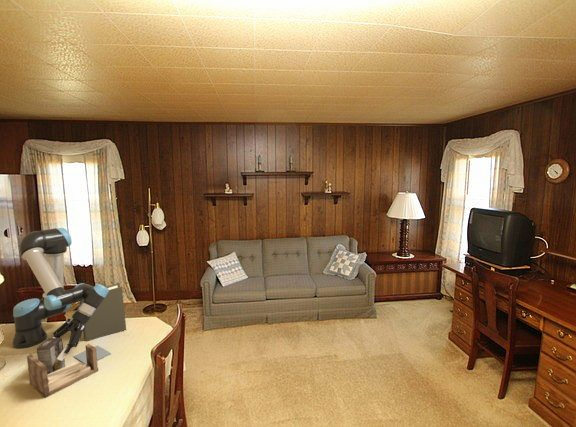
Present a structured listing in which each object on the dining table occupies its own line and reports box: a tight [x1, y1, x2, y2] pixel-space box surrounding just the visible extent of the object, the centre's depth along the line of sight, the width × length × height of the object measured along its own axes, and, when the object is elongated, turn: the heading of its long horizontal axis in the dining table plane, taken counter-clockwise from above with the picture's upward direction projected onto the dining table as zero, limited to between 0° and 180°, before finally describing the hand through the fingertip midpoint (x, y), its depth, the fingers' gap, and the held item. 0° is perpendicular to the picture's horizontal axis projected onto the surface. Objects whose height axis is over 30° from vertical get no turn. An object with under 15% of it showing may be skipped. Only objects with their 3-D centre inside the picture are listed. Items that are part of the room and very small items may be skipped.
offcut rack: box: [26, 343, 99, 399], centre depth 147 cm, size 16×22×14 cm
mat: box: [73, 345, 112, 365], centre depth 166 cm, size 14×12×1 cm
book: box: [79, 282, 127, 342], centre depth 187 cm, size 22×9×28 cm, turn 127°
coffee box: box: [36, 337, 66, 374], centre depth 150 cm, size 9×6×16 cm
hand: (52, 355), depth 149 cm, fingers open, 13 cm apart
